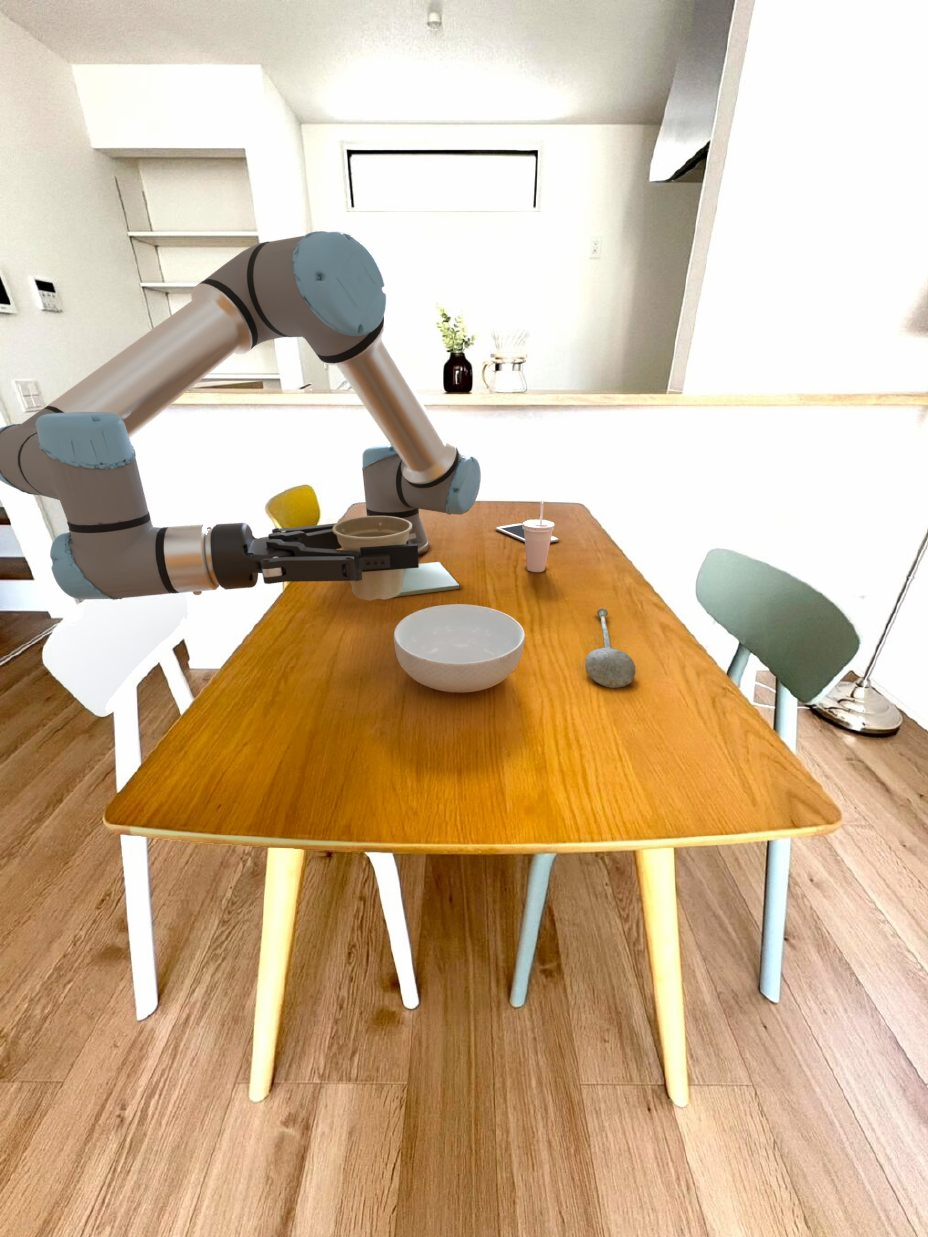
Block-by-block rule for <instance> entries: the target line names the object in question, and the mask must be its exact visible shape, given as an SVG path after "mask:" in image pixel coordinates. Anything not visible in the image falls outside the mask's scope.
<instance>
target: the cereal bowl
mask: <svg viewBox="0 0 928 1237" xmlns="http://www.w3.org/2000/svg"><path fill="white" fill-rule="evenodd" d="M525 640H526V632H525V630H524V628H523V626H522V625H521V623H519V621H518V620H516V619H515V618H514V617H512V616H510V615H509V614H507V613H505V612H502V611H501V610H497V609H494V608H491V607H487V606H481V605H476V604H465V603H464V604H463V603H459V604H458V603H454V604H443V605H436V606H435V605H434V606H429V607H426V608H422V609H420V610H416V611H414V612H413V613H410V614H408V615H407V616H405V617H403V618H402V619H401V620H400V621H399V622H398V624H396V626H395V628H394V630H393V645H394V652H395V655H396V657H397V660H398V663H399V665H400V666H401V668H402V669H403V670H404V672H406V674H407V675H408V676H409V677H410V678H412V679H413V680H414V681H415V682H417V683H419V684H420V685H423V686H425V687H427V688H429V689H430V688H431V689H433V690H437V691H441V692H445V693H446V692H447V693H457V694H459V693H473V692H479V691H483V690H486V689H490V688H493V687H494V686H496V685H498V684H500V683H502V682H503V681H504V680H506V679H507V678H508V677H510V675H512V674H513V673H514V672H515V670H516V668H518V665H519V664H520V662H521V659H522V657H523V653H524V647H525Z"/></svg>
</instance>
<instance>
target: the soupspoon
mask: <svg viewBox="0 0 928 1237" xmlns="http://www.w3.org/2000/svg"><path fill="white" fill-rule="evenodd" d="M596 615H597V617H598V618H600V624H601V631H602V639H603V647H600V648H596V649H593V650H591V651H590V652H589V653H588V654H587V655H586V657H585V659H584V660H585V662H584V663H585V671H586V673H587V674H588V676H589V677H590V678H591V679H592V680H593V681H594V682H595V683H597V684H599V685H601V686H604V687H606V688H609V689H610V688H611V689H616V688H624V687H626V686H628V685H630V684H631V683H632V682H633V680H634V678H635V676H636V664H635V662H634V660H633V658H632V657H631V656H630V655H629V654H628V653H626V652H624V651H622V650H620V649H618V648H613V647H612V644H611V639H610V634H609V629H608V626H607V621H606V619H607V616H608V615H609V611H608V609H606V608H605V607H600V608H598V609H597V610H596Z"/></svg>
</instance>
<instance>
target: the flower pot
mask: <svg viewBox="0 0 928 1237" xmlns="http://www.w3.org/2000/svg"><path fill="white" fill-rule="evenodd" d="M336 523H337V524H335V525H334V526H333V533H334V534H336V535H337V539H338V542H339V544H340V545H341V547H342V548H341V550H349V551H359V552H360V547H376V546H389V545H404V544H406V542H407V541H408V538H409V531H411V529H412V523H411V522H409V521H408V520H405V519H402V518H398V517H391V516H367V515H364V516H356V517H353V518H352V517H351V518H347V519H344V520H341V521H339V522H336ZM360 555H361V554H360ZM403 571H404V569H396V570H384V571H371V572H362V580H360V581H355V580H354V581H349V582H350V586H351V591H352V593H353V595H354V596H355V597H356V598H358V599H361V600H365V601H374V600H376V599H380V600H383V601H385V600H390V599H392V598H396V597H395V596H397V595H399V594H400V593H401V591H402V587H403Z"/></svg>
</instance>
